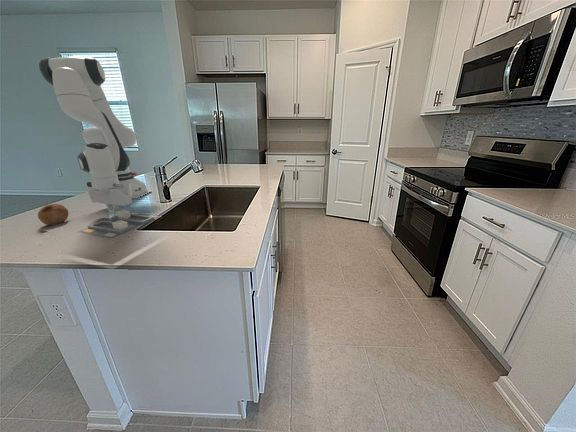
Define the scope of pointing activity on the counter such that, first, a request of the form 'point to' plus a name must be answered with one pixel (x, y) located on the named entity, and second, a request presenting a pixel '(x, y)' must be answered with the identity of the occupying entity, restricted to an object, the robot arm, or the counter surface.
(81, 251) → the counter surface
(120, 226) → the tab
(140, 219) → the switch bank
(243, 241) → the counter surface
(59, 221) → the onion
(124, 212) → the tab
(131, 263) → the counter surface
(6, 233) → the counter surface
